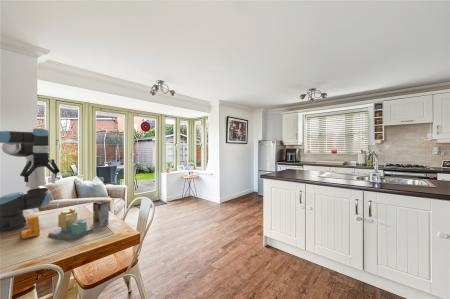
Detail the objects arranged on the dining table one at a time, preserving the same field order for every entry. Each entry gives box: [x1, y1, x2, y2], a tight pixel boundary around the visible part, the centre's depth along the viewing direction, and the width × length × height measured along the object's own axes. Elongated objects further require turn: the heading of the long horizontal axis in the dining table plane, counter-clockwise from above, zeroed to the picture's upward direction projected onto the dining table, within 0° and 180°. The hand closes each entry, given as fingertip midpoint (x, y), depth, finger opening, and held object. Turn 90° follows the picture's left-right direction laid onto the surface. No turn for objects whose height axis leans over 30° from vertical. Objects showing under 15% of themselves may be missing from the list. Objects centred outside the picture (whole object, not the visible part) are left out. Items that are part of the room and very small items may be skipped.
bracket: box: [21, 214, 41, 239], centre depth 125 cm, size 11×7×12 cm, turn 51°
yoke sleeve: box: [57, 208, 78, 228], centre depth 129 cm, size 7×7×10 cm
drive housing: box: [48, 217, 94, 242], centre depth 128 cm, size 20×14×12 cm
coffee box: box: [92, 200, 110, 227], centre depth 144 cm, size 9×6×16 cm
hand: (41, 185), depth 127 cm, fingers open, 13 cm apart
